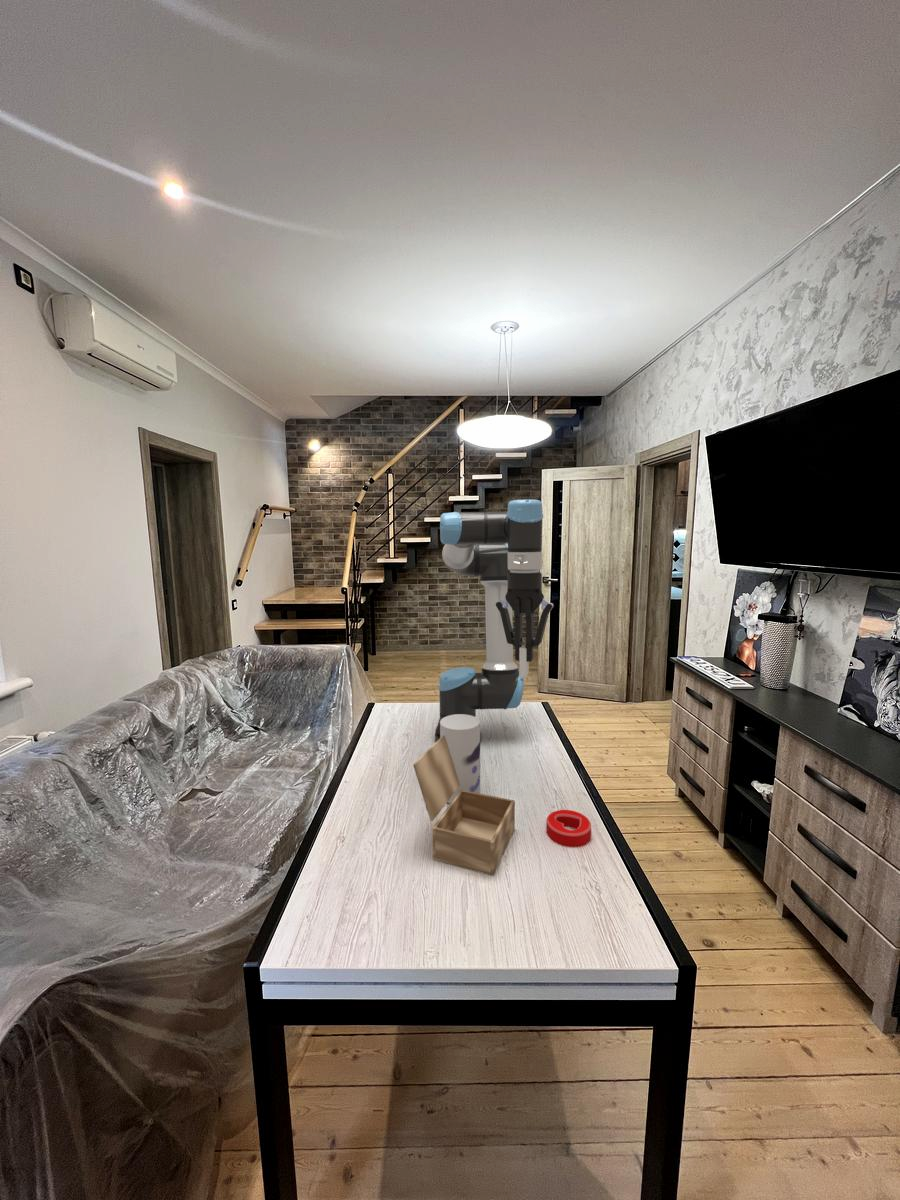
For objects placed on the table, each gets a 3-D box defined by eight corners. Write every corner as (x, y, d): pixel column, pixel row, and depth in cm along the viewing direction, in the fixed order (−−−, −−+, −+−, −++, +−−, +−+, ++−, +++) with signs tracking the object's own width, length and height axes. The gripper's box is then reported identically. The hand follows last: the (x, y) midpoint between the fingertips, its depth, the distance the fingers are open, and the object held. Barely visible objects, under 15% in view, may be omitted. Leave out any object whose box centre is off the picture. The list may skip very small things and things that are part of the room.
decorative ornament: (598, 833, 108) (599, 820, 107) (576, 854, 101) (576, 840, 100) (561, 816, 114) (561, 804, 114) (537, 834, 107) (538, 821, 107)
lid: (460, 784, 113) (457, 785, 113) (444, 735, 112) (442, 735, 113) (432, 821, 99) (430, 821, 99) (415, 764, 98) (412, 764, 99)
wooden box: (461, 817, 114) (460, 789, 113) (514, 829, 109) (514, 800, 108) (432, 859, 99) (432, 828, 98) (493, 875, 94) (493, 842, 93)
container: (477, 808, 118) (476, 730, 115) (437, 804, 120) (435, 727, 117) (482, 787, 127) (482, 714, 125) (445, 784, 129) (444, 712, 127)
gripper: (491, 572, 106) (491, 676, 109) (550, 573, 101) (549, 682, 104) (500, 569, 112) (501, 668, 116) (557, 570, 108) (555, 673, 111)
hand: (524, 674), depth 110 cm, fingers closed
